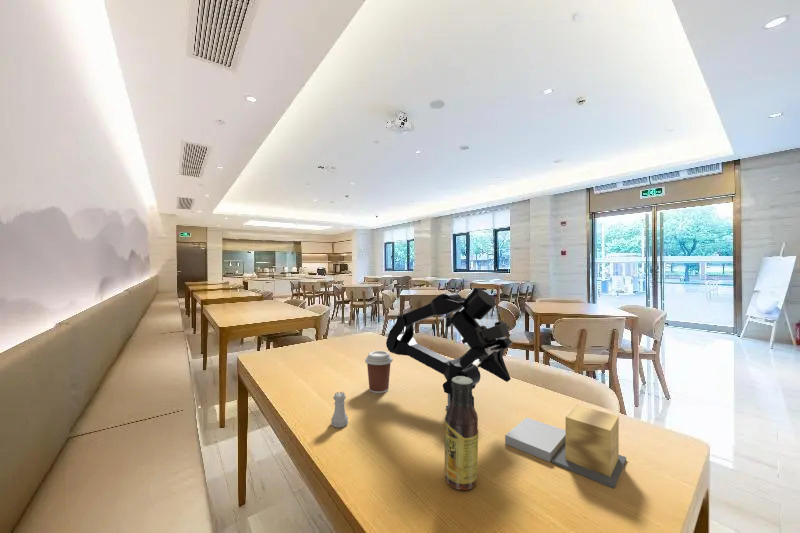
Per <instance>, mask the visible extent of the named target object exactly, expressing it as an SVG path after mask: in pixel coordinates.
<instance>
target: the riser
mask: <svg viewBox="0 0 800 533" xmlns="http://www.w3.org/2000/svg"><path fill="white" fill-rule="evenodd" d="M504 436H505V437H504V439H505V440H504V442H505V443H504V444H505V445H507V446H510V447H512V448H515V449H517V450H520V451H522V452H524V453H526V454H528V455H532V456H534V457H537V458H539V459H541V460H544V461H546V462H549V463H552V459H553V458H554V457H555V456H556V454H557V453H558V452H559V451H560V449H561V448H562V447H563V446H564V444H565V443H566V429H563V428H560V427H557V426H555V425H551V424H548V423H544V422H542V421H539V420H536V419H533V418H531V417H525V418H524V419H522V421H520V422H519V423H518V424H517V425H516V426H514V427H513V428H512V429H511V430H509V431H508V432H507V433H506V434H505V435H504Z"/></svg>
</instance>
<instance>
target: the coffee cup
mask: <svg viewBox="0 0 800 533" xmlns="http://www.w3.org/2000/svg"><path fill="white" fill-rule="evenodd" d="M364 362H365V363H366V364H367V365H366V366H367V377H368V379H367V380H368V389H369V392H371V393H373V394H384V393H387V392H388V391H389V386H390V373H391V363H392V362H393V358H392V356H390V352H389V351H386V350H374V351H370V352H369V353H368V354H367V356H366V357H365V358H364Z"/></svg>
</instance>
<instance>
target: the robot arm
mask: <svg viewBox="0 0 800 533" xmlns="http://www.w3.org/2000/svg"><path fill="white" fill-rule="evenodd" d="M496 302H497V301H496V300H495V298H494V297H493V295H491V294H489V293H488V292H486V291H485V290H483V289H481V287H474V289H473V290H472V291H471V293H470V294H469V295H468V296H467V298H466V297H463V296H461V295H460V294H459V293H457V292H447V293H441V294H439V295H437V296H436V297H434V298H432V300H431V301H430V302H429V303H428V304H426V305H423V306H421V307H418V308H416V309H413V310H411V311H409V312H405V313H403V314H400V315H398V316H397V318H396V320H395V323H394V325H393V326H392V327H391V328H390V330H389V332H388V335H387V339H386V341H385V346H386V348H387V350H388V352H389V353H391V354H394V355H398V356H408V357H410V358H411V359H414V360H415V361H418V362H419V363H420V364H422V365H425V366H426V367H429V368H430V369H432V370H434V371H435V372H437V373H439V374H442V375H443V376H444V378H445V380H446V381H445V382H444V383H443V384H442V388H443V392H444V393H445V394H447V405H445V409H446V410H447V412H448V409H449V406H450V404H451V401H452V386H451V381H452V378H454V377H457V376H464V377H468V378H471V379H472V380H473V389H472V390H474V389H475V388H476V385H477V384H478V383H480V380H481V372H480V370H479V368H480V369H483V370H485V371H487V372H489V373H490V374H492V375H494V376H496V377H498V378H499V379H500V380H502V381H505V382H506V383H508V382H509V381H510V380H511V377H510V373H509V372H508V369H507V367H506V364H505V361H504V352H505V350H507V349H508V348H509V347H511V346H512V345H513V343H514V342H513V341H512V340H511V339H510V338H509V337H507V336H509V335H510V332H509V329H510V326H509V325H507V322H505V321H504V320H499V321H497V322H494V326H491V327H489V328H487V326H485V325H480V324H479V322H478V321H477V320H480V321H481V320H482V319H484V318H485V317H486V315H488V313H490V312H491V311H492V310H493V309H494V308H495V307H496V306H497V303H496ZM448 314H453V315H452V316H447V317H446V322H445V327H446V328H451V327H454V328H455V329H456V331H457V332H458V334H460V336H461V338H463V339H461V344H463V345H465V344H467V346H468V347H469V349H468V350H467V351H466V352H465V353H464V354H463V355H462V356H459V357H457V358H454V359H450V358H448V357H446V356H444V355H442V354H440V353H439V352H436V351H434V350H432V349H429V348H427V347H426V346H423V345H422V344H419V343H418V342H417V341H416V339H415V338H414V335H415V329H414V325H415V324H417V323H419V322H422V321H425V320H427V319H430V318H432V317H435V316H441V315H448ZM404 329H405V330H404ZM403 330H404V331H403ZM477 360H478V362H479V364H478V365H476V364H475V363H474V362H475V361H477ZM472 405H473V407H474V408H475V397H474V395H473V394H472Z"/></svg>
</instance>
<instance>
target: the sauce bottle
mask: <svg viewBox="0 0 800 533" xmlns="http://www.w3.org/2000/svg"><path fill="white" fill-rule="evenodd" d="M451 386H452V401H451V404H450V406H449V409H448V411H447V412H446V415H445V418H444V419H445V420H444V475H445V476H444V477H445V481H446V483H447V485H449V486H450V487H451V488H453V489H454V490H459V491H470V490H471V489H473V488H474V487H476V485H477V478H478V468H479V467H478V464H479V463H478V462H479V461H478V458H479V457H478V456H479V455H478V454H479V453H478V452H479V426H478V422H479V421H478V420H479V416H478V413H477V411H476V408H475V406H474V407H473V405H472V395H473V390H474V389H473V380H472V379H471V378H468V377H464V376H457V377H454V378H452V381H451Z"/></svg>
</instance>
